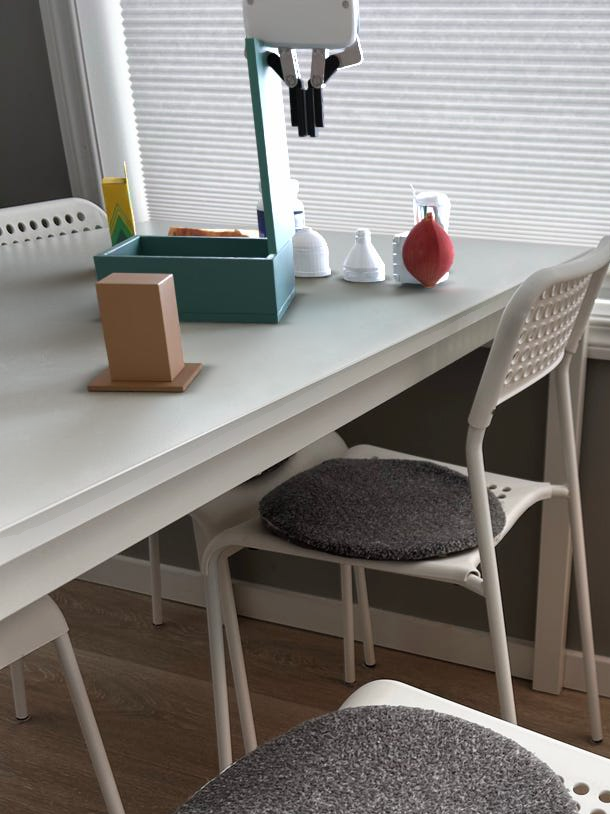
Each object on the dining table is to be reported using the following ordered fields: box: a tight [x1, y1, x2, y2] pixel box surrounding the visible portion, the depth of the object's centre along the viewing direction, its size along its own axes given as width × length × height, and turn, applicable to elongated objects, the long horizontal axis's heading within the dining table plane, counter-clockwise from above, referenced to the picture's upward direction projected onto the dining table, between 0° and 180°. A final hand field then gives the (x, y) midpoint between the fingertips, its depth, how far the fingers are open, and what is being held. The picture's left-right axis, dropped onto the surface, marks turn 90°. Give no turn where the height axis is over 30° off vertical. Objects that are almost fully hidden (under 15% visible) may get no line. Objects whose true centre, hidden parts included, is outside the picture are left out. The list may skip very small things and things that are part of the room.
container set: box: [292, 225, 450, 285], centre depth 113 cm, size 20×5×6 cm, turn 71°
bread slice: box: [167, 226, 259, 238], centre depth 128 cm, size 18×18×4 cm
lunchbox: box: [92, 234, 297, 324], centre depth 96 cm, size 17×15×6 cm
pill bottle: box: [256, 178, 306, 238], centre depth 116 cm, size 6×6×10 cm
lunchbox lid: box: [244, 37, 295, 254], centre depth 91 cm, size 17×15×1 cm
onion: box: [402, 212, 455, 289], centre depth 106 cm, size 6×6×8 cm
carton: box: [94, 273, 185, 382], centre depth 71 cm, size 4×4×7 cm
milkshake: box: [409, 184, 451, 233], centre depth 117 cm, size 4×5×10 cm
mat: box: [86, 362, 203, 393], centre depth 73 cm, size 7×7×1 cm
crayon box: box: [101, 160, 137, 247], centre depth 114 cm, size 7×3×12 cm, turn 18°
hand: (308, 136), depth 90 cm, fingers closed
